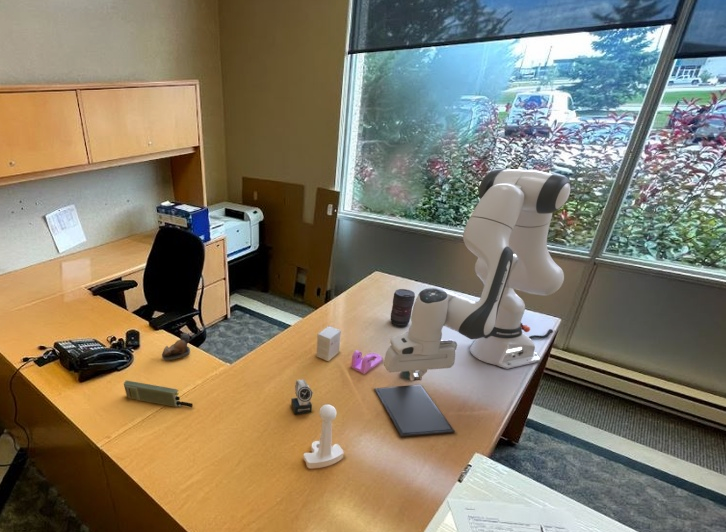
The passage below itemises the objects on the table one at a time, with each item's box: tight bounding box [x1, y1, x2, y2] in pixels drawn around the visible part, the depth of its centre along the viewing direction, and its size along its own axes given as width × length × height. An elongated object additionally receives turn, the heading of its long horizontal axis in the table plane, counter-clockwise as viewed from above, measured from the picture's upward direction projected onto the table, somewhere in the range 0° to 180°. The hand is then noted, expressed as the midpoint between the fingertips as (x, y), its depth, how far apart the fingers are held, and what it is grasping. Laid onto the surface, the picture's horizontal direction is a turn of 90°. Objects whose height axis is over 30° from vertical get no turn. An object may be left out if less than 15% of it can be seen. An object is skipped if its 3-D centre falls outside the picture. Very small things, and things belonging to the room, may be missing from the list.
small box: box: [315, 325, 342, 362], centre depth 160 cm, size 8×6×10 cm
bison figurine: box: [161, 332, 191, 361], centre depth 165 cm, size 12×7×10 cm, turn 106°
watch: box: [290, 379, 314, 415], centre depth 134 cm, size 6×8×11 cm
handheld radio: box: [123, 380, 193, 408], centre depth 143 cm, size 7×3×25 cm
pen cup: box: [400, 371, 411, 380], centre depth 146 cm, size 4×4×9 cm
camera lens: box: [390, 288, 416, 328], centre depth 175 cm, size 8×8×15 cm
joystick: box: [302, 404, 345, 469], centre depth 114 cm, size 11×8×20 cm
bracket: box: [350, 350, 383, 375], centre depth 154 cm, size 13×6×7 cm, turn 128°
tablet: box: [374, 384, 455, 438], centre depth 133 cm, size 16×22×1 cm
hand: (415, 379), depth 128 cm, fingers closed
